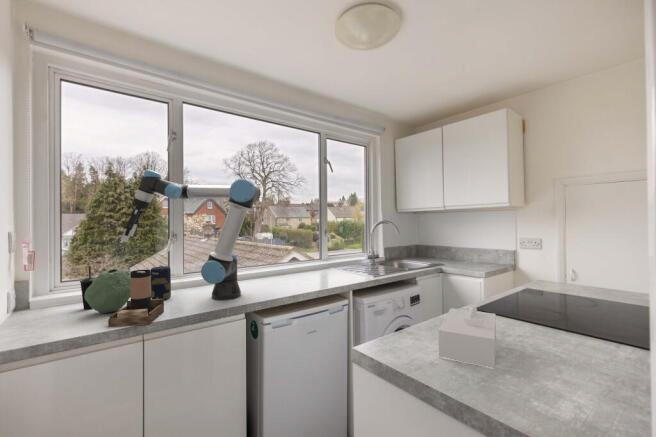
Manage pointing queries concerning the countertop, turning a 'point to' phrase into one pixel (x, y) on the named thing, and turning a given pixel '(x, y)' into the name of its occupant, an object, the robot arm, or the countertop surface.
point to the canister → (160, 282)
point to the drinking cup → (84, 285)
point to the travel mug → (140, 289)
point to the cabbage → (109, 290)
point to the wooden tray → (156, 310)
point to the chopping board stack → (132, 313)
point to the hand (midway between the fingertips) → (126, 238)
